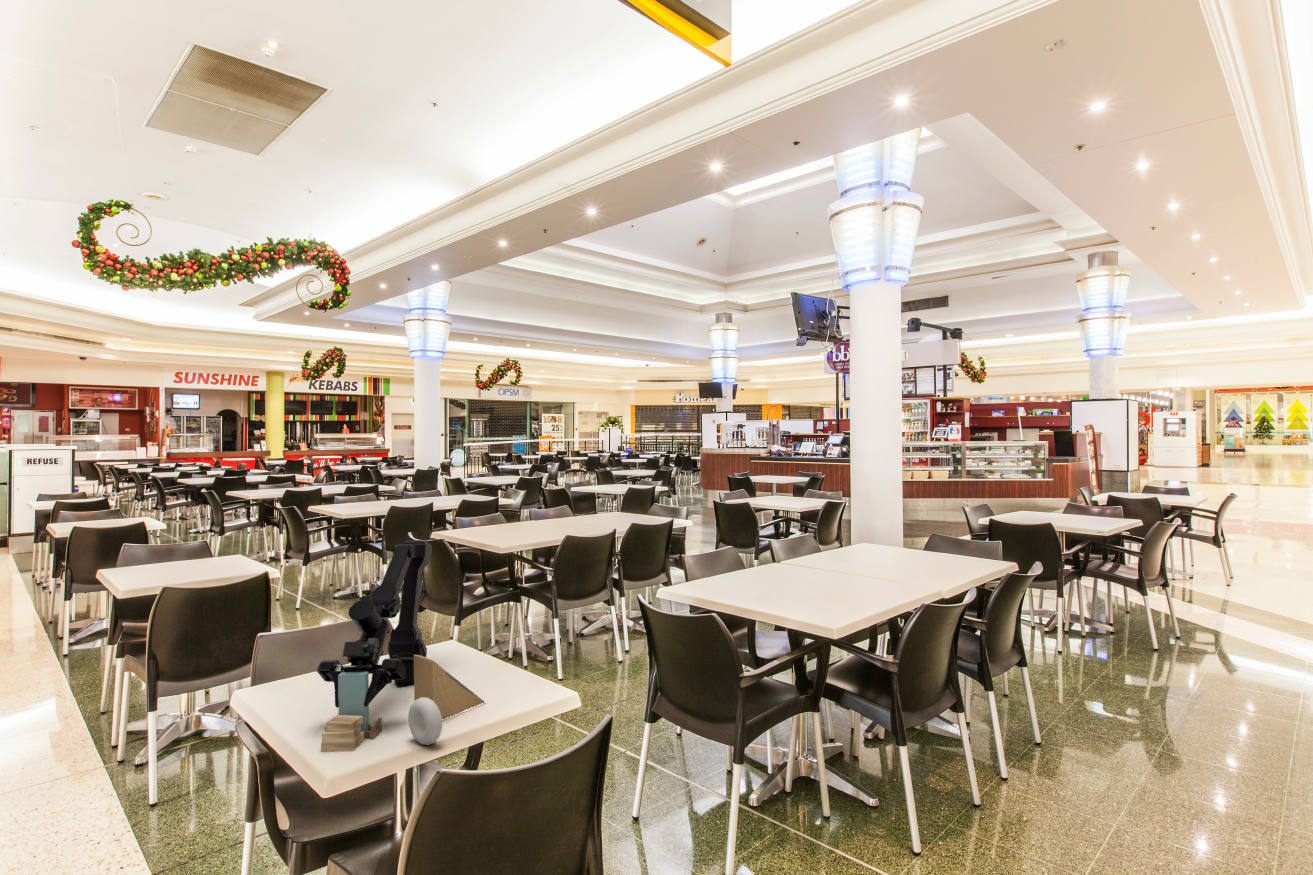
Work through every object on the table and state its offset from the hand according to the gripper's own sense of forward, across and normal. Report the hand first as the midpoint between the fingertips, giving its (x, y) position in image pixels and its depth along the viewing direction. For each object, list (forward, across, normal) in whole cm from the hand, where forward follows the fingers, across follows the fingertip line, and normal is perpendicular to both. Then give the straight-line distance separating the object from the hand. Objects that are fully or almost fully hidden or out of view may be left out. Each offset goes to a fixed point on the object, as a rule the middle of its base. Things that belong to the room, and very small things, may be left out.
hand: (350, 706), depth 142 cm
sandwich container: (-5, +18, +16) cm, 25 cm away
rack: (+4, 0, +6) cm, 7 cm away
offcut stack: (+8, 0, +3) cm, 8 cm away
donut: (+8, +18, +3) cm, 20 cm away
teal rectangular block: (+4, 0, +6) cm, 7 cm away
